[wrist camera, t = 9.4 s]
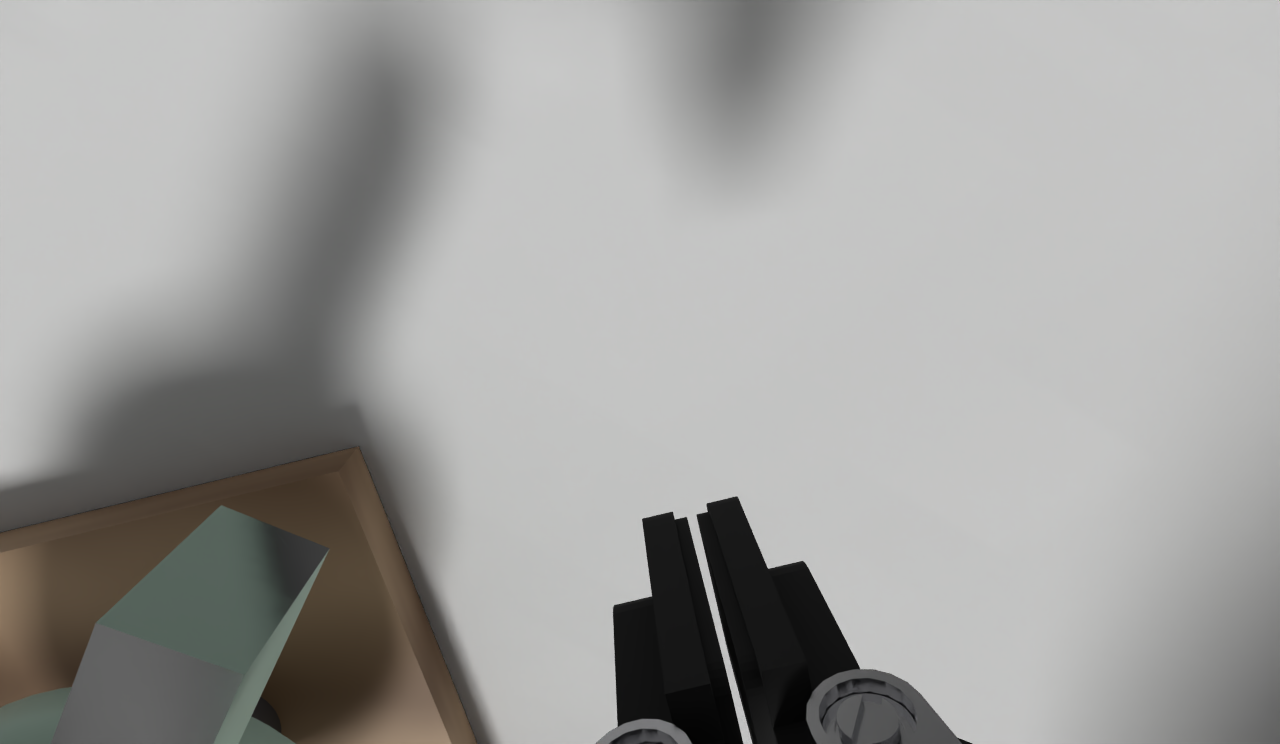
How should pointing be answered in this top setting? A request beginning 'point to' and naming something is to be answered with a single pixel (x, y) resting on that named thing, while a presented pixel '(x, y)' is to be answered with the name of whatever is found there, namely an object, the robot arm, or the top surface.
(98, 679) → the green door lever handle
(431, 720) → the walnut board
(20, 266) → the top surface
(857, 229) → the top surface
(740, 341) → the top surface
